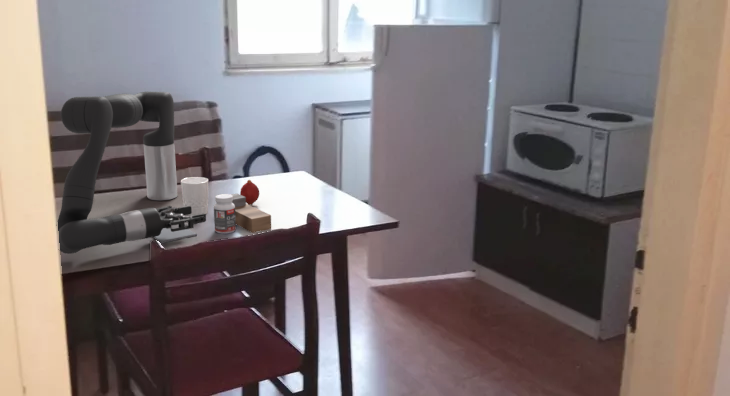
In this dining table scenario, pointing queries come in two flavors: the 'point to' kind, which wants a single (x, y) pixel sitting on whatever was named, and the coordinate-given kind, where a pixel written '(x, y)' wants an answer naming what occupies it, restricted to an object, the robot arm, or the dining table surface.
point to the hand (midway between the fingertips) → (197, 213)
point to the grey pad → (174, 235)
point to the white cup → (195, 194)
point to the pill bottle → (224, 214)
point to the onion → (250, 192)
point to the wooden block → (250, 215)
